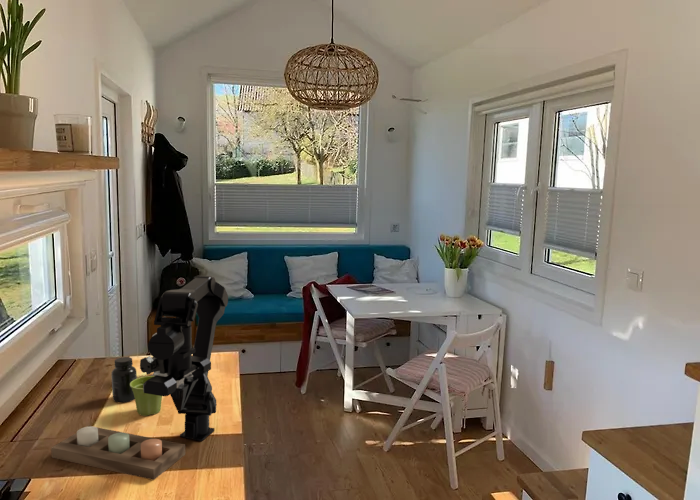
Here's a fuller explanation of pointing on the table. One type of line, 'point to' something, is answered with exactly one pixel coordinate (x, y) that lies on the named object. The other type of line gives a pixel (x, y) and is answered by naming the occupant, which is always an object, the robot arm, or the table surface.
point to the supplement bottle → (123, 380)
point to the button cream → (87, 436)
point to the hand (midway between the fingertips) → (179, 410)
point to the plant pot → (145, 398)
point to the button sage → (118, 442)
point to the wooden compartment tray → (119, 455)
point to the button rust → (151, 449)
